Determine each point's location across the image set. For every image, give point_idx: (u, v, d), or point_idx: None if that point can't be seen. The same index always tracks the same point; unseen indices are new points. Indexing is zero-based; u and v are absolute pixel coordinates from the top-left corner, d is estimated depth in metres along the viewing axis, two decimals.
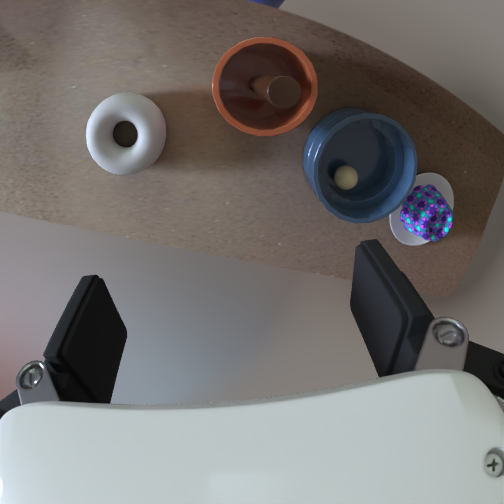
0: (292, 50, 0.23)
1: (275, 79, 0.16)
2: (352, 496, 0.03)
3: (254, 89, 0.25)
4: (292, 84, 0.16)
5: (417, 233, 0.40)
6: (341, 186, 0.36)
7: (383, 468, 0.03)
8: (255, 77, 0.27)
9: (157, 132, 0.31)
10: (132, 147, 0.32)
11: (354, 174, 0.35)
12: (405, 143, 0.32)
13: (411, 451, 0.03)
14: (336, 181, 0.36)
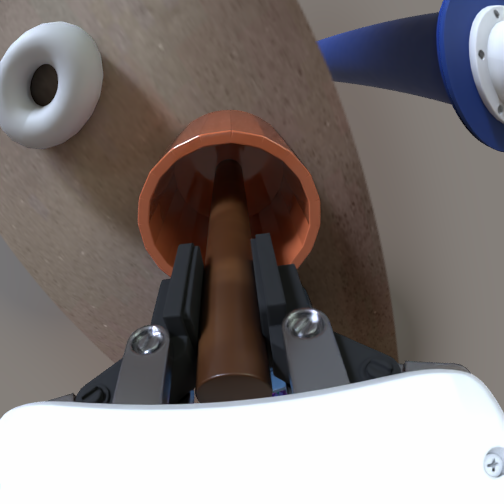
0: (311, 212, 0.15)
1: (242, 375, 0.07)
2: (352, 496, 0.03)
3: (211, 209, 0.16)
4: (259, 395, 0.07)
5: None
6: None
7: (383, 468, 0.03)
8: (232, 179, 0.18)
9: (69, 122, 0.17)
10: (34, 110, 0.17)
11: None
12: None
13: (411, 451, 0.03)
14: None
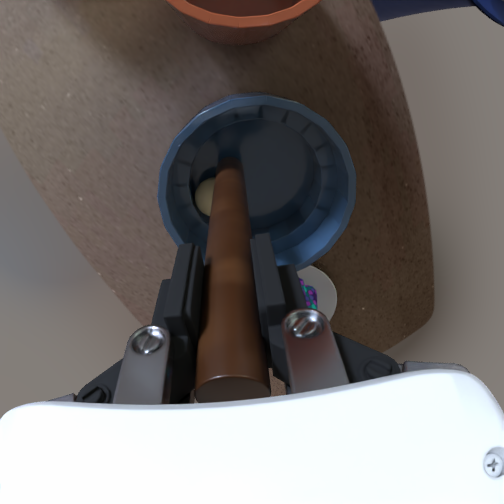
0: None
1: (241, 378, 0.07)
2: (352, 496, 0.03)
3: (212, 207, 0.16)
4: (258, 397, 0.08)
5: None
6: (196, 202, 0.23)
7: (383, 468, 0.03)
8: (233, 177, 0.18)
9: None
10: None
11: None
12: (337, 212, 0.22)
13: (411, 451, 0.03)
14: (196, 192, 0.23)
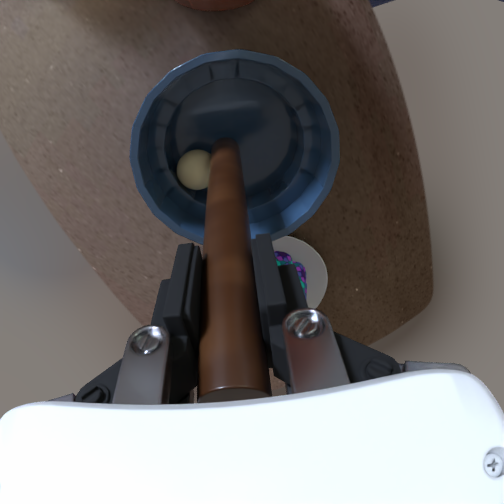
0: None
1: (255, 390, 0.07)
2: (352, 496, 0.03)
3: (213, 190, 0.15)
4: None
5: None
6: (177, 170, 0.22)
7: (383, 468, 0.03)
8: (235, 163, 0.18)
9: None
10: None
11: (201, 186, 0.22)
12: (321, 174, 0.21)
13: (411, 451, 0.03)
14: (180, 160, 0.21)
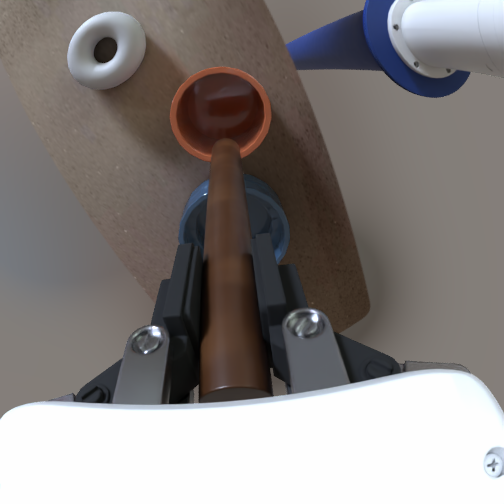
0: (265, 109, 0.26)
1: (257, 389, 0.07)
2: (352, 496, 0.03)
3: (214, 191, 0.15)
4: None
5: None
6: None
7: (383, 468, 0.03)
8: (235, 164, 0.18)
9: (124, 71, 0.28)
10: (98, 64, 0.27)
11: None
12: (280, 244, 0.40)
13: (411, 451, 0.03)
14: None
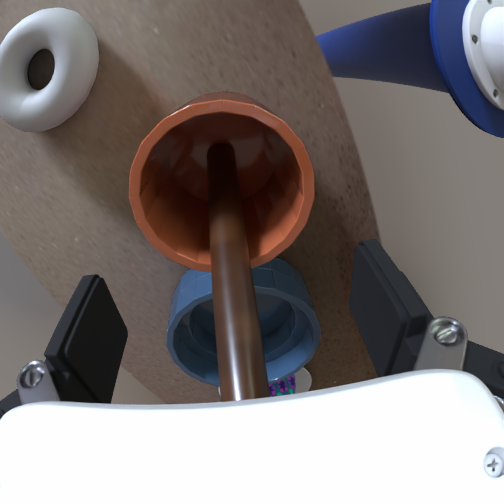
0: (305, 184, 0.15)
1: None
2: (352, 496, 0.03)
3: (215, 225, 0.16)
4: None
5: None
6: None
7: (383, 468, 0.03)
8: (233, 184, 0.18)
9: (65, 103, 0.17)
10: (31, 93, 0.16)
11: None
12: (306, 344, 0.28)
13: (411, 451, 0.03)
14: None
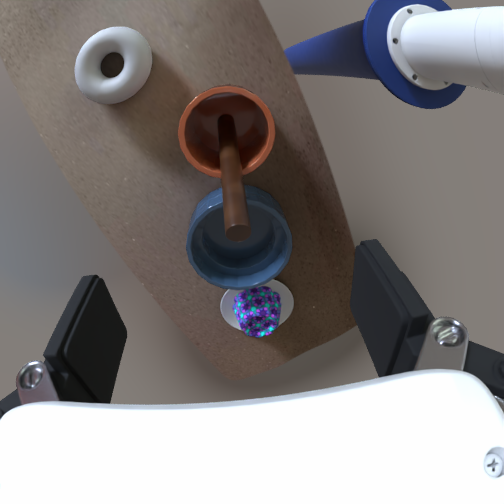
0: (269, 127, 0.28)
1: (245, 226, 0.24)
2: (352, 496, 0.03)
3: (223, 151, 0.30)
4: (246, 235, 0.24)
5: (238, 318, 0.48)
6: None
7: (383, 468, 0.03)
8: (233, 134, 0.32)
9: (131, 87, 0.30)
10: (106, 79, 0.29)
11: None
12: (283, 253, 0.41)
13: (411, 451, 0.03)
14: None
